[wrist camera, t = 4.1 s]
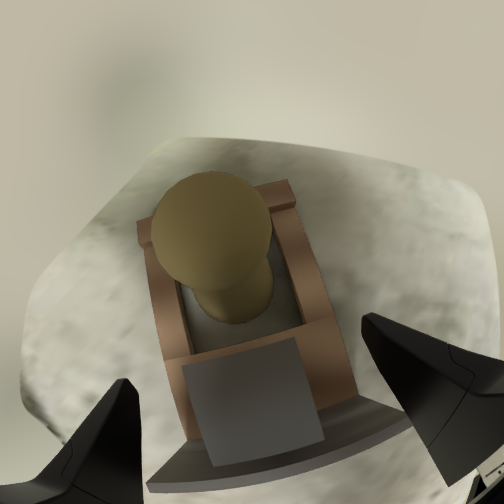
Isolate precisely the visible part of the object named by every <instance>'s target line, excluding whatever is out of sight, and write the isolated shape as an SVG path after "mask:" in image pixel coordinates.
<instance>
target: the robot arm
mask: <svg viewBox="0 0 504 504" xmlns="http://www.w3.org/2000/svg"><path fill="white" fill-rule="evenodd" d="M361 334H362V337H363V339H364V341H365V343H366V345H367V347H368V349H369V351H370V353H371V356H372V358H373V360H374V362H375V364H376V366H377V368H378V369H379V371H380V373H381V374H382V376H383V377H384V379H385V381H386V382H387V384H388V385H389V387H390V388H391V390H392V392H393V393H394V395H395V396H396V398H397V400H398V401H399V403H400V404H401V406H402V408H403V409H404V411H405V413H406V414H407V416H408V418H409V419H410V421H411V423H412V424H413V426H414V428H415V429H416V431H417V433H418V434H419V436H420V438H421V439H422V441H423V443H424V445H425V446H426V448H428V449H427V450H428V452H429V453H430V455H431V457H432V459H433V461H434V462H435V464H436V466H437V468H438V469H439V471H440V473H441V475H442V477H443V479H444V480H445V482H446V484H447V486H448V487H450V486H451V485H453V484H454V483H456V482H457V481H459V480H460V479H462V478H463V477H465V476H466V475H467V474H469V473H470V472H471V471H473V470H474V469H475V468H476V469H477V471H478V472H479V474H478V475H477V476H476V477H475V478H474V480H473V484H472V487H471V490H470V493H469V496H468V499H467V502H466V504H504V361H502V360H499V359H495V358H491V357H488V356H484V355H480V354H477V353H474V352H470V351H467V350H465V349H462V348H459V347H456V346H454V345H451V344H447V343H446V342H444V341H441V340H439V339H436V338H434V337H432V336H429V335H427V334H424V333H422V332H419V331H417V330H414V329H412V328H410V327H407V326H405V325H402V324H400V323H397V322H395V321H393V320H390V319H388V318H385V317H383V316H380V315H378V314H376V313H373V312H371V313H368V314H366V315H363V316H362V324H361ZM141 437H142V432H141V417H140V404H139V394H138V391H137V390H136V389H135V387H134V386H133V385H132V383H131V382H130V381H129V380H128V379H127V378H122V379H117V380H116V381H115V383H114V384H113V385H112V386H111V387H110V389H109V390H108V391H107V392H106V394H105V395H104V396H103V397H102V399H101V400H100V401H99V402H98V404H97V405H96V406H95V407H94V409H93V410H92V411H91V412H90V414H89V415H88V416H87V417H86V419H85V420H84V421H83V422H82V424H81V425H80V426H79V428H78V429H77V430H76V431H75V433H74V434H73V435H72V437H71V438H70V439H69V440H68V442H67V443H66V444H65V445H64V447H63V448H62V449H61V450H60V452H59V453H58V454H57V455H56V456H55V457H54V459H53V460H52V461H51V462H50V463H49V464H48V465H47V466H46V467H45V468H44V469H43V470H42V472H41V473H40V474H39V475H38V476H37V477H36V478H34V479H32V480H30V481H28V482H23V483H16V484H9V485H0V504H144V500H143V485H142V452H141Z"/></svg>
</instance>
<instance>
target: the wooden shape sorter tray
mask: <svg viewBox="0 0 504 504" xmlns="http://www.w3.org/2000/svg"><path fill="white" fill-rule="evenodd" d="M254 188H255V189H256V190H257V191H258V192H259V194H260V196H261V197H262V199H263V201H264V202H265V204H266V206H267V208H268V210H269V213H270V219H271V224H272V229H273V232H274V235H275V238H276V241H277V244H278V247H279V250H280V253H281V256H282V259H283V262H284V265H285V268H286V271H287V274H288V277H289V280H290V283H291V286H292V289H293V292H294V295H295V298H296V301H297V304H298V307H299V311H300V314H301V317H302V320H303V323H304V325H302V326H298V327H295V328H292V329H289V330H286V331H282V332H279V333H276V334H272V335H269V336H265V337H262V338H258V339H255V340H251V341H247V342H244V343H240V344H236V345H232V346H228V347H224V348H220V349H216V350H212V351H208V352H203V353H199V354H195V353H194V349H193V345H192V341H191V337H190V333H189V328H188V324H187V320H186V315H185V311H184V306H183V302H182V297H181V292H180V287H179V282H178V281H177V280H175V279H174V278H172V277H171V276H170V275H169V274H168V273H167V271H166V270H165V269H164V268H163V266H162V265H161V264H160V263H159V261H158V259H157V256H156V253H155V250H154V247H153V244H152V241H151V225H152V220H153V217H154V216H151V217H148V218H145V219H142V220H139V221H137V232H138V243H139V245H140V246H141V247H142V248H143V249H144V255H145V262H146V270H147V277H148V283H149V289H150V296H151V301H152V307H153V312H154V318H155V323H156V328H157V333H158V337H159V342H160V346H161V351H162V355H163V359H164V363H165V367H166V371H167V375H168V379H169V383H170V387H171V390H172V394H173V397H174V401H175V404H176V407H177V411H178V414H179V417H180V420H181V423H182V426H183V429H184V432H185V435H186V438H187V442H186V443H185V444H184V445H183V446H182V447H181V448H180V449H179V450H178V451H177V452H176V453H175V454H174V455H173V456H172V457H171V458H170V459H169V460H168V461H167V462H166V463H165V464H164V465H163V466H162V467H161V468H160V469H159V470H158V471H157V472H156V473H155V474H154V475H153V476H152V477H151V478H150V479H149V480H148V481H147V482H146V485H147V487H148V489H149V492H150V493H189V492H204V491H215V490H224V489H231V488H238V487H244V486H250V485H255V484H261V483H265V482H270V481H274V480H279V479H283V478H287V477H290V476H294V475H298V474H301V473H305V472H308V471H311V470H314V469H317V468H320V467H323V466H326V465H329V464H332V463H335V462H337V461H340V460H343V459H345V458H348V457H350V456H353V455H355V454H357V453H360V452H362V451H364V450H366V449H369V448H371V447H373V446H375V445H377V444H379V443H381V442H383V441H385V440H387V439H389V438H391V437H393V436H395V435H397V434H399V433H401V432H403V431H404V430H406V429H408V428H410V427H411V426H413V424H412V423H411V421H410V419H409V418H408V416H407V414H406V413H405V412H403V411H400V410H398V409H395V408H392V407H389V406H387V405H384V404H381V403H379V402H376V401H373V400H371V399H368V398H366V397H363V396H361V395H359V394H358V390H357V387H356V383H355V380H354V376H353V373H352V369H351V366H350V363H349V359H348V356H347V353H346V349H345V346H344V343H343V340H342V337H341V333H340V330H339V327H338V324H337V321H336V318H335V315H334V312H333V309H332V306H331V303H330V300H329V297H328V294H327V291H326V289H325V286H324V283H323V280H322V277H321V275H320V272H319V269H318V266H317V263H316V261H315V258H314V255H313V253H312V250H311V247H310V245H309V242H308V239H307V237H306V234H305V232H304V229H303V227H302V224H301V221H300V219H299V216H298V214H297V211H296V209H295V203H296V199H295V197H294V194H293V192H292V190H291V187H290V185H289V183H288V180H287V179H286V180H281V181H277V182H273V183H269V184H265V185H260V186H256V187H254Z"/></svg>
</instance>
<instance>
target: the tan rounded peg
mask: <svg viewBox="0 0 504 504" xmlns="http://www.w3.org/2000/svg"><path fill="white" fill-rule="evenodd" d="M271 234H272V224H271V219H270V213H269V210H268V208H267V206H266V204H265V202H264V201H263V199H262V197H261V196H260V194H259V192H258V191H257V190H256V189H255V188H254V187H252V186H251V185H250V184H249V183H248V182H246V181H245V180H243V179H240V178H238V177H235V176H233V175H230V174H228V173H222V172H212V171H210V172H204V173H198V174H194V175H192V176H190V177H187V178H185V179H183V180H181V181H179V182H178V183H177V184H176V185H174V186H173V187H172V188H171V189H169V190H168V191H167V193H166V194H165V195H164V197H163V198H162V199H161V201H160V202H159V204H158V206H157V209H156V212H155V214H154V217H153V220H152V225H151V241H152V244H153V247H154V250H155V253H156V256H157V259H158V261H159V263H160V264H161V265H162V266H163V268H164V269H165V270H166V271H167V273H168V274H169V275H170V276H171V277H172V278H174V279H175V280H177V281H179V282H180V283H182V284H184V285H185V286H187V287H189V288H191V289H192V291H193V293H194V295H195V297H196V299H197V301H198V303H199V305H200V307H201V308H202V309H203V310H204V311H205V312H206V313H207V315H209V316H210V317H212V318H214V319H216V320H217V321H219V322H224V323H229V324H236V323H244V322H247V321H249V320H251V319H253V318H255V317H257V316H258V315H259V314H260V313H261V312H262V311H263V310H265V309H266V307H267V306H268V304H269V302H270V300H271V298H272V295H273V289H274V279H273V273H272V270H271V267H270V264H269V262H268V259H267V257H266V255H267V253H268V251H269V246H270V240H271Z"/></svg>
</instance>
